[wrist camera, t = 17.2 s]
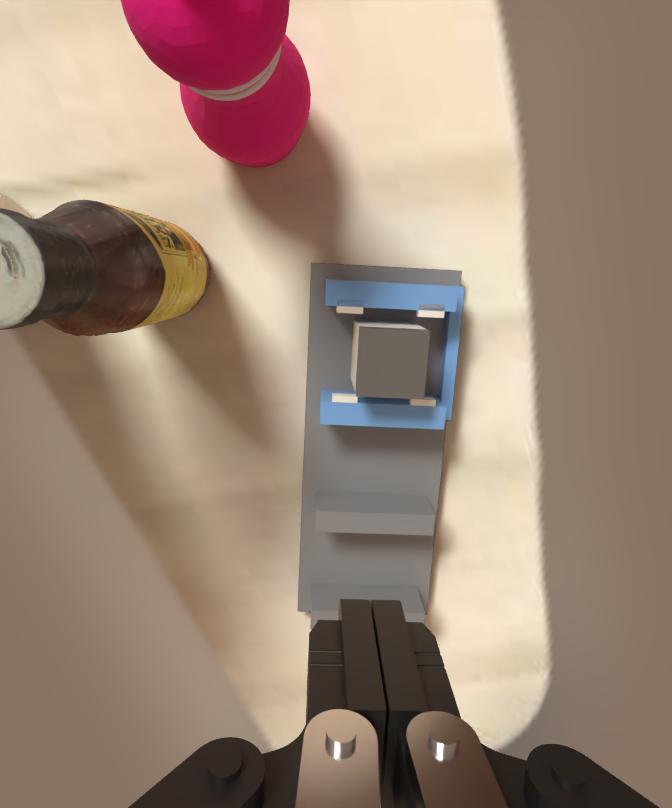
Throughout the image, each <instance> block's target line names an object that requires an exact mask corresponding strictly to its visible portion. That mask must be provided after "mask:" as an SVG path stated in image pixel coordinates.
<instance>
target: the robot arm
mask: <svg viewBox="0 0 672 808" xmlns="http://www.w3.org/2000/svg"><path fill="white" fill-rule="evenodd" d="M0 208H3V209H8V210H12V211H15V212H19V213H21V214H23V215H25V216H27V217H29V218H31V219H32V217H31V216H30V215H29V214H28V213H27V212H26V211H25V210H24V209H23V208H22V207H20V206H19V205H18V204H16V203H15V202H14V201H12V200H11V199H9V198H7V197H5V196H3V195H1V194H0ZM380 804H381V808H659V807H658V806H656V805H654V804H653V803H652V802H650V801H649V800H648V799H646V798H645V797H643V796H642V795H640V794H639V793H637V792H636V791H635V790H633V789H632V788H631V787H629V786H628V785H626V784H625V783H623V782H622V781H621V780H619V779H618V778H616V777H615V776H613V775H612V774H610V773H609V772H608V771H606V770H605V769H603V768H602V767H601V766H599V765H598V764H596V763H595V762H594V761H592V760H591V759H589V758H588V757H586V756H585V755H583V754H582V753H580V752H578V751H576V750H574V749H572V748H569V747H567V746H563V745H557V744H545V745H541V746H538V747H536V748H535V749H533V750H532V751H531V752H530V754H529V756H528V759H527V761H526V760H522V759H518V758H516V757H512V756H509V755H505V754H502V753H499V752H497V751H494V750H492V749H490V748H488V747H486V746H485V745H483V744H481V743H480V740H479V738H478V736H477V734H476V733H475V731H474V730H473V729H472V727H471V726H470V725H469V724H468V723H466V722H465V721H464V720H462V719H461V717H460V713H459V710H458V707H457V704H456V701H455V698H454V695H453V691H452V688H451V685H450V682H449V679H448V676H447V673H446V669H444V663H443V660H442V657H441V656H440V651H439V648H438V644H437V641H436V638H435V636H434V635H433V634H432V633H431V632H430V630H429V629H428V628H427V627H426V626H425V625H424V624H423V623H422V622H406V620H405V616H404V612H403V608H402V604H401V601H400V600H371V601H369V600H366V599H340V601H339V614H338V620H318V621H317V623H316V624H315V626H314V627H313V629H312V630H311V632H310V633H309V655H308V677H307V707H306V725H305V727H304V729H303V731H302V733H301V734H300V735H299V736H298V737H297V738H296V739H295V740H294V741H293V742H291V743H290V744H289V745H287V746H285V747H283V748H280V749H278V750H275V751H271V752H268V753H264V754H261V752H260V751H259V749H258V748H257V747H256V746H255V745H253V744H252V743H250V742H248V741H246V740H243V739H240V738H232V737H228V738H220V739H216V740H213V741H211V742H209V743H207V744H205V745H203V746H202V747H200V748H199V749H198V750H197V751H195V752H194V753H193V754H192V755H191V756H190V757H188V758H187V759H186V760H185V761H183V762H182V763H181V764H180V765H179V766H177V767H176V768H175V769H174V770H173V771H171V772H170V773H169V774H168V775H167V776H165V777H164V778H163V779H162V780H161V781H160V782H158V783H157V784H156V785H155V786H154V787H152V788H151V789H150V790H149V791H147V792H146V793H145V794H144V795H143V796H141V797H140V798H139V799H138V800H137V801H135V802H134V803H133V804H132V805H131V806H129V807H128V808H380Z"/></svg>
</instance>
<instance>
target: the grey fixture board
mask: <svg viewBox="0 0 672 808" xmlns="http://www.w3.org/2000/svg"><path fill="white" fill-rule="evenodd" d="M461 274H462V271H456V270H437V269H418V268H400V267H381V266H362V265H343V264H325V263H311V286H310V312H309V337H308V362H307V387H306V413H305V438H304V463H303V488H302V514H301V539H300V564H299V589H298V611H300V612H311V629H313V627H314V626H315V624H316V623H317V621H318V620H338V614H339V601H340V599H366V600H369V601H371V600H400V601H401V604H402V608H403V612H404V616H405V620H406V622H422V623H423V624H424V620H425V615H427V605H428V596H429V586H430V576H431V566H432V557H433V547H434V537H435V527H436V518H437V508H438V498H439V488H440V479H441V469H442V459H443V449H444V440H445V430H446V420H451V415H452V405H453V396H454V386H455V377H456V367H457V358H458V348H459V338H460V329H461V319H462V310H463V300H464V291H465V287H463V286H460V284H461ZM354 319H366V320H387V321H409V322H414V323H416V324H418V325H420V326H421V327H423V328H425V329H427V330H429V331H430V339H429V351H428V362H427V373H426V384H425V395H424V399H403V398H378V397H356V394H355V390H354V387H353V384H352V380H351V360H352V343H353V325H354Z"/></svg>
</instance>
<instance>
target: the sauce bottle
mask: <svg viewBox="0 0 672 808" xmlns="http://www.w3.org/2000/svg"><path fill="white" fill-rule="evenodd" d="M209 275H210V269H209V265H208V261H207V258H206V255H205V254H204V251H203V248H202V247H201V245H200V244H199V243H198V242H197V241H196V240H195V239H194V238H193V237H192V236H191V235H190V234H189V233H187V232H186V231H185V230H183V229H182V228H180V227H178V226H176V225H174V224H172V223H169V222H165V221H162V220H159V219H156V218H152V217H149V216H146V215H142V214H139V213H135V212H133V211H129V210H125V209H121V208H118V207H115V206H112V205H108V204H104V203H101V202H96V201H90V200H76V201H71V202H67V203H65V204H63V205H60V206H59V207H57V208H56V209H55V210H53V211H52V212H50V213H48V214H46V215H44V216H43V217H41V218H39V219H31V218H29V217H27V216H25V215H23V214H21V213H19V212H15V211H12V210H8V209H3V208H0V330H2V329H11V328H17V327H22V326H25V325H29V324H33V323H35V322H38V321H39V320H41V319H42V321H44V322H46V323H47V324H49V325H51V326H52V327H54V328H56V329H59V330H61V331H63V332H65V333H69V334H73V335H76V336H81V335H85V336H93V335H95V336H97V335H103V334H107V333H117V332H123V331H127V330H131V329H135V328H138V327H142V326H145V325H149V324H153V323H157V322H161V321H164V320H168V319H171V318H175V317H178V316H180V315H183V314H185V313H186V312H188V311H189V310H190V309H192V308H194V307H195V305H197V304H198V303H199V301H200V299H201V298H202V296H203V294H204V293H205V291H206V288H207V286H208V282H209V278H210V277H209Z"/></svg>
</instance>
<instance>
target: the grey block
mask: <svg viewBox="0 0 672 808" xmlns="http://www.w3.org/2000/svg"><path fill="white" fill-rule="evenodd" d="M429 339H430V331H429V330H427V329H425V328H423V327H421V326H420V325H418V324H416V323H414V322H409V321H387V320H366V319H354V325H353V343H352V360H351V380H352V384H353V387H354V390H355V394H356V397H378V398H403V399H424V395H425V384H426V373H427V362H428V351H429Z"/></svg>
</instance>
